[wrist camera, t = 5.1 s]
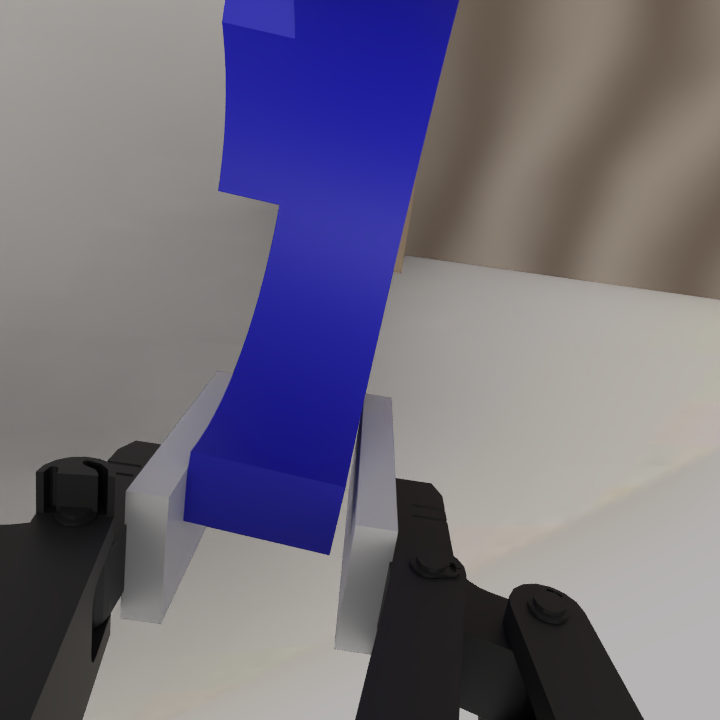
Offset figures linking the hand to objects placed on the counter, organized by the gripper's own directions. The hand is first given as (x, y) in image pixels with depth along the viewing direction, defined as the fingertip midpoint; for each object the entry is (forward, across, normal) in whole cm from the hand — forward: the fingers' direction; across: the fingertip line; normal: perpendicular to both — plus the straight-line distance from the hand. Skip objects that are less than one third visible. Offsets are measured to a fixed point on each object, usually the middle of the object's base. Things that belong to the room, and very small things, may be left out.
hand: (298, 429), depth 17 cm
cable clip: (+1, 0, +6) cm, 6 cm away
